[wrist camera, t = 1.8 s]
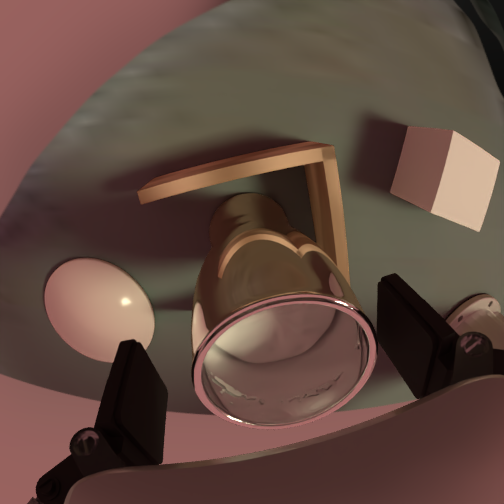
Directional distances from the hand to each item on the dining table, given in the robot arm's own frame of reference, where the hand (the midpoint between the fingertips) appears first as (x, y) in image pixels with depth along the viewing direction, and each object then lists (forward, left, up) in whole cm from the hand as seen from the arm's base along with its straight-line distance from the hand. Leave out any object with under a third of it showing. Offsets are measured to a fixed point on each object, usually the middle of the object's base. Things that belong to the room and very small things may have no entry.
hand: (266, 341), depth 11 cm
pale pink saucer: (+14, +4, -13) cm, 20 cm away
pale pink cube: (-17, -2, -14) cm, 21 cm away
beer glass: (-1, 0, -14) cm, 14 cm away
